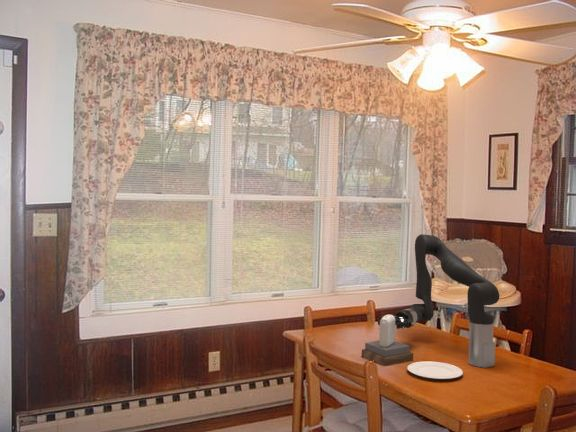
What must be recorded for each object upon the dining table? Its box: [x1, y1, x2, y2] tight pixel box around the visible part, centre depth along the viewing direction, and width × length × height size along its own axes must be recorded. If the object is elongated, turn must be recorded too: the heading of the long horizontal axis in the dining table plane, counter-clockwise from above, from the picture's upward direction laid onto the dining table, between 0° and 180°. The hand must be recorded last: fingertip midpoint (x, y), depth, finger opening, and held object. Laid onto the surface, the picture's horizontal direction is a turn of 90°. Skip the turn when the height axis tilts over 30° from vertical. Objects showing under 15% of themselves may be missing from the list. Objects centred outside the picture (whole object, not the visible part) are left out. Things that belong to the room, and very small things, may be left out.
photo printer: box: [378, 314, 396, 347], centre depth 233 cm, size 10×4×12 cm, turn 149°
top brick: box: [364, 340, 411, 358], centre depth 233 cm, size 13×13×3 cm
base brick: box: [361, 348, 414, 367], centre depth 233 cm, size 15×15×3 cm
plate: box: [406, 360, 464, 381], centre depth 214 cm, size 21×21×2 cm
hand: (387, 324), depth 233 cm, fingers open, 8 cm apart
